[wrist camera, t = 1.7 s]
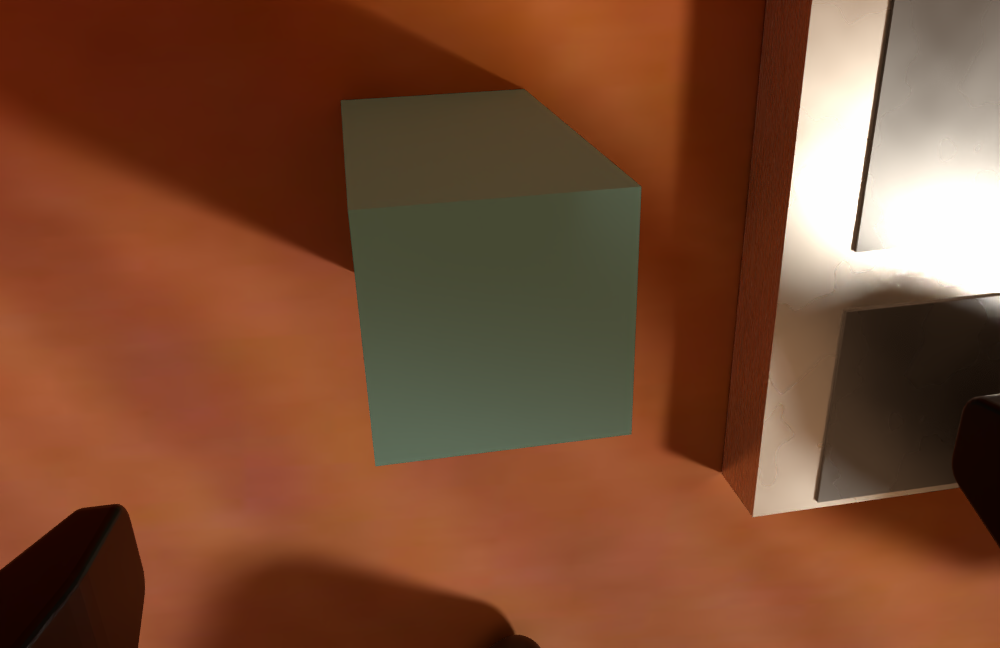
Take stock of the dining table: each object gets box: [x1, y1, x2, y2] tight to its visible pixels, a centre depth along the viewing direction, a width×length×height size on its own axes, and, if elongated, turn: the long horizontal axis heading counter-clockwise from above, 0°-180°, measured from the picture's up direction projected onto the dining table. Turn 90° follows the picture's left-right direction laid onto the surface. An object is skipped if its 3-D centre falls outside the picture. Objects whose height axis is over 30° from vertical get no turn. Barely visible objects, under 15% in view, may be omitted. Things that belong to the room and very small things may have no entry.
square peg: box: [341, 89, 641, 466], centre depth 16 cm, size 4×4×8 cm
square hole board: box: [722, 0, 1000, 517], centre depth 19 cm, size 24×9×2 cm, turn 2°
